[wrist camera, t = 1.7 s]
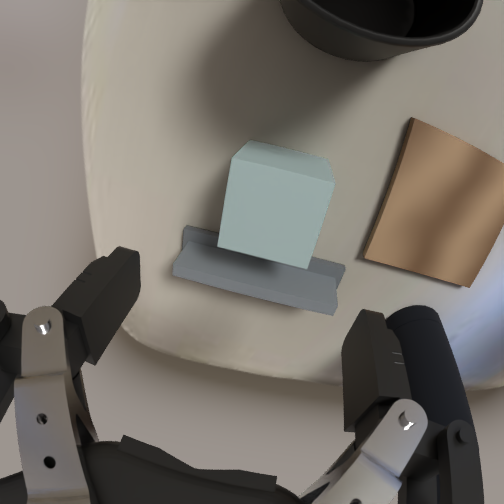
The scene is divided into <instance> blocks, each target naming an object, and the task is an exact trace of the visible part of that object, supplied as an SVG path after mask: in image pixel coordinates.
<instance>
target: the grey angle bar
mask: <svg viewBox="0 0 504 504" xmlns="http://www.w3.org/2000/svg"><path fill="white" fill-rule="evenodd" d="M218 239H219V233H215V232H211V231H207V230H203V229H199V228H195V227H191V226H187V225H186V227H185V228H184V233H183V246H182V252H181V253H180V255H179V256H178V258H177V259H176V260H175V262H174V263H173V275H174V276H177V277H181V278H184V279H188V280H192V281H195V282H199V283H202V284H206V285H210V286H214V287H217V288H221V289H225V290H229V291H232V292H236V293H240V294H244V295H248V296H252V297H256V298H260V299H264V300H268V301H272V302H276V303H280V304H284V305H288V306H292V307H296V308H301V309H305V310H309V311H314V312H318V313H322V314H327V315H331V316H333V315H334V313H335V311H336V309H337V306H338V303H337V291H336V290H337V288H338V285H339V283H340V281H341V279H342V276H343V274H344V272H345V265H342V264H338V263H334V262H330V261H327V260H323V259H319V258H315V257H311V259H310V262H309V265H308V268H307V269H304V268H300V267H296V266H292V265H288V264H284V263H280V262H276V261H272V260H268V259H265V258H261V257H257V256H253V255H249V254H245V253H241V252H237V251H233V250H229V249H225V248H221V247H217V245H218Z"/></svg>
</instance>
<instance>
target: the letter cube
mask: <svg viewBox="0 0 504 504" xmlns="http://www.w3.org/2000/svg"><path fill="white" fill-rule="evenodd" d="M334 187H335V180H334V177H333V173H332V170H331V166H330V163H329V160H328V159H326V158H322V157H319V156H315V155H311V154H308V153H304V152H300V151H296V150H292V149H288V148H284V147H280V146H276V145H271V144H267V143H262V142H258V141H253V140H249V141H248V142H247V143H246V144H245V145H244V146H243V147H242V148H241V149H240V150H239V151H238V152H237V153H236V154H235V155H234V156H233V157H232V160H231V165H230V171H229V177H228V183H227V189H226V195H225V201H224V207H223V213H222V220H221V226H220V232H219V239H218V245H217V247H221V248H225V249H229V250H233V251H237V252H241V253H245V254H249V255H253V256H257V257H261V258H265V259H268V260H272V261H276V262H280V263H284V264H288V265H292V266H296V267H300V268H304V269H307V268H308V265H309V262H310V259H311V257H312V254H313V251H314V248H315V245H316V242H317V239H318V236H319V233H320V230H321V227H322V224H323V221H324V218H325V215H326V212H327V209H328V206H329V203H330V199H331V196H332V193H333V190H334Z"/></svg>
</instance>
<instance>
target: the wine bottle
mask: <svg viewBox="0 0 504 504" xmlns="http://www.w3.org/2000/svg"><path fill="white" fill-rule="evenodd" d="M385 322H386V326H387V329H391V330H392V331H393V332H394V334H395V335H396V337H397V338H398V340H399V342H400V346H401V350H402V355H403V358H404V365H405V367H406V372H407V377H408V381H409V386H410V391H411V397H412V400H413V401H415V402H416V403H418V404H419V405H420V406H421V407H422V408H423V410H424V411H425V413H426V416H427V420H430V421H432V422H435V423H437V424H440V425H443V426H446V427H447V426H448V425H449V424H450V423H452V422H453V421H455V420H464V421H466V422H467V423H469V424H470V425H471V426H472V428H473V429H474V431H475V428H474V424H473V420H472V415H471V412H470V408H469V404H468V401H467V397H466V393H465V390H464V386H463V383H462V380H461V377H460V373H459V370H458V367H457V364H456V361H455V358H454V355H453V352H452V350H451V347H450V344H449V341H448V339H447V336H446V333H445V331H444V328H443V325H442V323H441V320H440V318H439V315H438V313H437V312H436V311H435V310H434V309H432V308H430V307H427V306H420V305H415V306H410V307H406V308H403V309H401V310H399V311H397V312H395V313H394V314H393V315H391V316H390V317H389V318H388V319H387V320H386V321H385ZM475 434H476V432H475ZM477 443H478V442H477ZM478 449H479V447H478ZM436 481H437V504H439V501H440V479H439V474H438V475H436Z"/></svg>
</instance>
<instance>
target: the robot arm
mask: <svg viewBox="0 0 504 504" xmlns="http://www.w3.org/2000/svg"><path fill="white" fill-rule="evenodd" d="M140 287H141V281H140V255H139V252H138V251H134V250H131V249H127V248H124V247H120V246H119V247H117V248H116V249H115V250H114V251H113V252H112V253H111V254H110V255H109V256H108V257H105V256H102V257H101V258H99V259H97V260H95V261H93V262H91V263H90V264H89V265H88V266H87V267H86V268H85V270H84V271H83V273H81V274H80V275H79V276H78V277H77V278H76V280H74V281H73V282H72V284H71V285H70V286H69V287H68V288H67V289H66V290H65V291H64V292H63V294H62V295H61V296H60V297H59V298H58V299H57V300H56V302H55V303H54V304H53V305H52V306H51V307H50V306H42V307H38V308H35V309H33V310H32V311H30V312H29V313H28V314H27V315H20V314H13V313H8V311H7V308H6V306H5V304H4V302H2V301H1V300H0V422H1V420H2V419H3V417H4V415H5V413H6V411H7V409H8V407H9V405H10V403H11V402H12V400H13V398H14V400H15V401H14V402H15V416H16V427H17V435H18V444H19V451H20V457H21V463H22V468H23V471H21V472H18V473H15V474H13V475H10V476H7V477H5V478H1V479H0V504H390V502H391V501H392V500H393V498H394V496H395V495H396V494H397V492H398V504H437V481H436V475H438V474H439V479H440V501H439V504H484V493H483V481H482V472H481V464H480V456H479V449H478V443H477V437H476V434H475V431H474V429H473V428H472V426H471V425H470V424H469V423H467V422H466V421H464V420H455V421H453V422H452V423H450V424H449V425H448V426H447V427H446V426H443V425H440V424H437V423H435V422H432V421H430V420H427V416H426V413H425V411H424V410H423V408H422V407H421V406H420V405H419V404H418V403H416V402H415V401H413V400H412V397H411V391H410V386H409V381H408V377H407V372H406V367H405V365H404V358H403V355H402V350H401V346H400V342H399V340H398V338H397V337H396V335H395V334H394V332H393V331H392V330H391V329H387V326H386V322H385V318H384V315H383V314H382V313H379V312H375V311H370V310H365V309H362V310H361V311H360V313H359V314H358V316H357V318H356V320H355V322H354V323H353V325H352V327H351V329H350V330H349V332H348V334H347V336H346V337H345V340H344V342H343V346H342V352H341V356H342V374H343V399H344V431H345V432H355V440H354V441H353V442H352V443H351V444H350V445H349V446H348V447H347V449H346V450H345V451H344V452H343V453H342V454H341V455H340V457H339V458H338V459H337V460H336V461H335V462H334V463H333V464H332V465H331V467H330V468H329V469H328V470H327V471H326V472H325V473H324V474H323V475H322V476H321V477H320V478H319V479H318V480H317V481H316V482H314V483H313V484H312V485H311V486H310V487H308V488H307V489H306V490H305V491H304V492H303V493H302V494H301V495H299V496H298V497H297V496H296V495H295V494H294V493H292V492H290V491H289V490H287V489H286V488H284V487H282V486H280V485H277V484H276V480H277V476H272V475H266V474H259V473H254V472H248V471H243V470H204V469H195V468H193V467H191V466H189V465H187V464H186V463H184V462H182V461H180V460H178V459H176V458H175V457H173V456H172V455H170V454H168V453H166V452H165V451H163V450H161V449H160V448H158V447H155V446H152V445H149V444H146V443H144V442H141V441H138V440H136V439H133V438H131V437H128V436H126V435H123V437H122V439H121V442H117V441H115V442H114V441H100V442H99V439H98V436H97V433H96V430H95V427H94V425H93V422H92V419H91V416H90V412H89V408H88V403H87V398H86V393H85V388H84V383H83V377H82V371H81V366H82V365H83V363H84V362H85V361H86V362H88V363H91V364H93V365H96V364H97V362H98V360H99V359H100V357H101V355H102V354H103V352H104V351H105V349H106V347H107V346H108V344H109V343H110V341H111V339H112V338H113V336H114V335H115V333H116V331H117V330H118V328H119V327H120V325H121V324H122V322H123V321H124V319H125V317H126V316H127V314H128V313H129V311H130V310H131V308H132V307H133V305H134V304H135V302H136V301H137V299H138V296H139V293H140Z"/></svg>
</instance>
